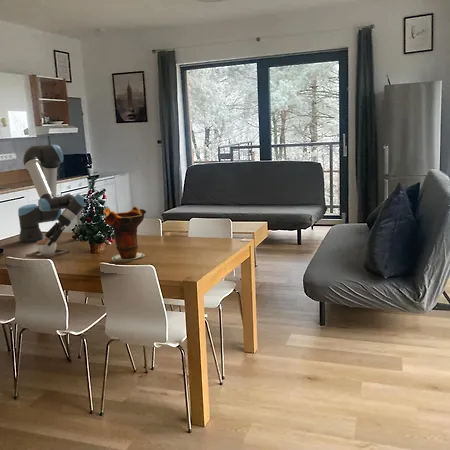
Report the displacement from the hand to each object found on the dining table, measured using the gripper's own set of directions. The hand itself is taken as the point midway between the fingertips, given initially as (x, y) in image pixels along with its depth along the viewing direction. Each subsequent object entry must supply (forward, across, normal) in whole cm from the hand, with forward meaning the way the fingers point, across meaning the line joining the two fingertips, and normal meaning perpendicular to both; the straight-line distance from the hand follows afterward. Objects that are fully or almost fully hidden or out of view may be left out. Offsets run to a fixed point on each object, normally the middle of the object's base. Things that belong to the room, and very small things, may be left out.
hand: (42, 248), depth 283 cm
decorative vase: (-23, -40, -29) cm, 54 cm away
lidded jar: (+1, 0, -5) cm, 5 cm away
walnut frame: (+1, 0, -5) cm, 5 cm away
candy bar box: (-22, +37, -28) cm, 51 cm away
